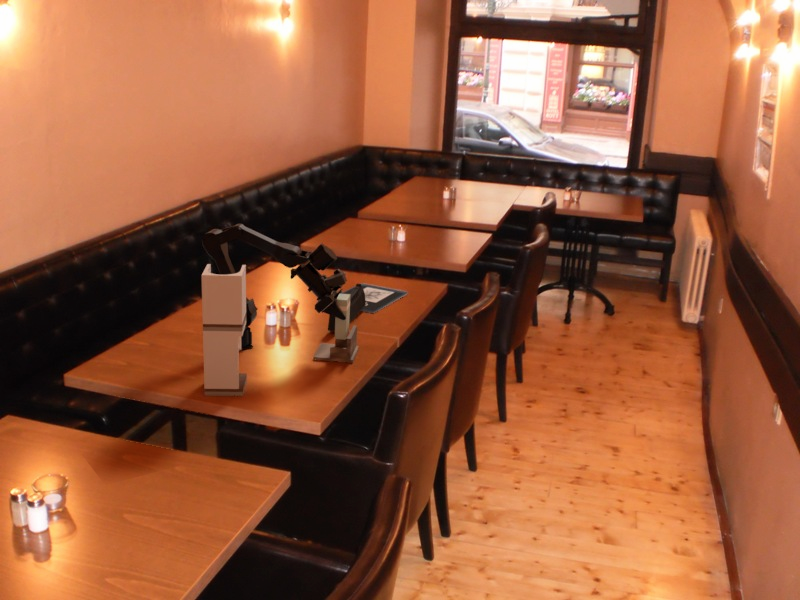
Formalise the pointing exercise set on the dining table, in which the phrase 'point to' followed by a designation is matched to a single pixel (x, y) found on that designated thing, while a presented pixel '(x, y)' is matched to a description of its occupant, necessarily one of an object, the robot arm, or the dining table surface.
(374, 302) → the sketchbook
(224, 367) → the beige rectangular tower
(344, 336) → the book
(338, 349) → the book rack
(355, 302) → the magazine
